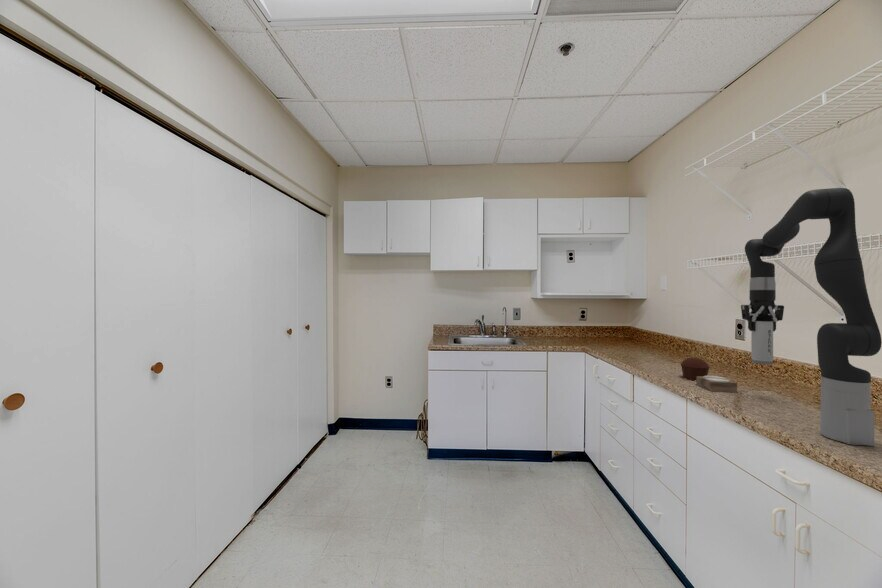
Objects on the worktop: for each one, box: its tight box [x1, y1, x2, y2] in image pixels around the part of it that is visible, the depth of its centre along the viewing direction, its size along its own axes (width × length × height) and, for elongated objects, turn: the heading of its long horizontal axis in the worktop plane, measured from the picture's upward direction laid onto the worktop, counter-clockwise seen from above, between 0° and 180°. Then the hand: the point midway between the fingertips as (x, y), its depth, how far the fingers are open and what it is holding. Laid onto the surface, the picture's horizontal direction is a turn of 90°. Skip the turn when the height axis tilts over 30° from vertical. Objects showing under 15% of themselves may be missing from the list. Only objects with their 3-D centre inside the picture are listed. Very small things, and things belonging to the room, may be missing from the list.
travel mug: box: [750, 311, 774, 365], centre depth 134 cm, size 6×7×20 cm
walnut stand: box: [695, 375, 738, 393], centre depth 147 cm, size 10×10×4 cm
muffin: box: [680, 357, 710, 381], centre depth 164 cm, size 12×11×10 cm
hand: (762, 331), depth 134 cm, fingers closed on travel mug, 6 cm apart
